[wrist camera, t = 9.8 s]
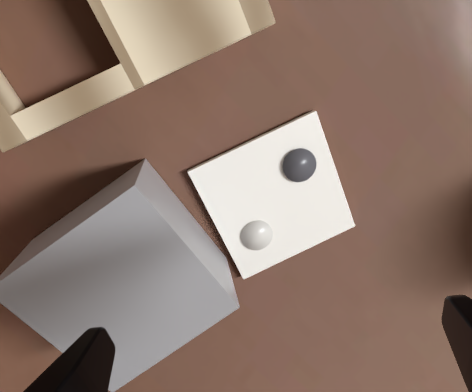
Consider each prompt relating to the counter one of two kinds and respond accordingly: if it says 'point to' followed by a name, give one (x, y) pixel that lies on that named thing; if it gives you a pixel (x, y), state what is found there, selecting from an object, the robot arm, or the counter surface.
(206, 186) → the pattern tile
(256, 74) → the counter surface
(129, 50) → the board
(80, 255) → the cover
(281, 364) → the counter surface
